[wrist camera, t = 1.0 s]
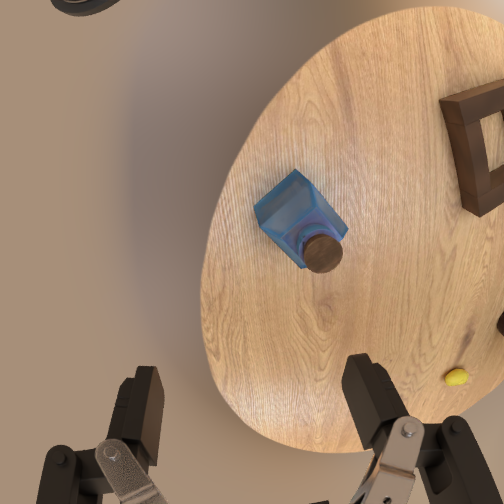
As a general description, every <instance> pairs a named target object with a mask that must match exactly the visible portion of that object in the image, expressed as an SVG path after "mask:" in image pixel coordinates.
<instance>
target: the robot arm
mask: <svg viewBox="0 0 504 504" xmlns="http://www.w3.org/2000/svg"><path fill="white" fill-rule="evenodd" d="M63 1H65V2H67V3H71V4H81V3H86V2H89V1H92V0H63ZM342 390H343V393H344V396H345V398H346V401H347V404H348V407H349V409H350V412H351V415H352V417H353V420H354V423H355V426H356V429H357V431H358V434H359V437H360V440H361V443H362V445H363V448H364V450H367V449H371V448H373V451H374V455H373V457H372V459H371V462H370V464H369V466H368V468H367V471H366V473H365V475H364V477H363V480H362V482H361V484H360V486H359V488H358V490H357V491H356V493H355V495H354V496H353V498H352V499H351V501H350V503H349V504H407V502H408V499H409V497H410V494H411V491H412V488H413V485H414V482H415V475H414V474H413V472H414V468H415V467H418V469H419V472H420V475H421V478H422V481H423V484H424V486H425V490H426V493H427V496H428V499H429V502H430V504H503V502H502V499H501V497H500V494H499V492H498V489H497V487H496V484H495V482H494V479H493V477H492V475H491V472H490V470H489V467H488V465H487V463H486V461H485V459H484V456H483V454H482V452H481V450H480V448H479V445H478V443H477V441H476V439H475V437H474V435H473V433H472V431H471V429H470V427H469V425H468V423H467V422H466V420H465V419H463V418H462V417H460V416H449V417H447V418H446V419H445V420H444V421H443V423H438V424H424V423H422V422H421V421H420V420H418V419H417V418H415V417H412V416H410V415H409V413H408V412H407V410H406V408H405V406H404V404H403V402H402V400H401V398H400V396H399V394H398V392H397V390H396V388H395V386H394V384H393V382H392V381H391V378H390V376H389V374H388V373H387V371H386V369H384V368H383V367H382V366H381V365H380V364H379V363H373V364H372V362H371V360H370V358H369V356H368V354H366V353H362V354H355V355H350V356H348V359H347V362H346V366H345V369H344V373H343V376H342ZM163 408H164V389H163V386H162V383H161V380H160V376H159V373H158V370H157V368H156V366H138V367H137V370H136V374H135V378H126V379H125V381H124V382H123V383H122V385H121V386H120V388H119V392H118V395H117V399H116V403H115V407H114V411H113V414H112V418H111V422H110V426H109V431H108V435H107V438H106V439H105V441H103V442H101V443H100V444H99V445H98V446H97V447H96V448H94V449H89V450H83V451H73V450H72V449H71V448H70V447H68V446H65V445H57V446H54V447H52V448H51V449H50V450H49V451H48V453H47V455H46V458H45V462H44V467H43V471H42V476H41V480H40V485H39V491H38V496H37V501H36V504H102V499H103V494H106V493H113V492H115V494H116V495H117V497H118V499H119V500H120V504H170V503H169V502H168V501H167V500H166V498H165V497H164V496H163V495H162V493H161V492H160V491H159V489H158V488H157V487H156V485H155V484H154V483H153V481H152V480H151V479H150V477H149V476H148V468H149V466H157V458H158V448H159V439H160V431H161V423H162V415H163ZM311 504H329V501H328V500H327V501H322V502H317V503H311Z"/></svg>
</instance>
